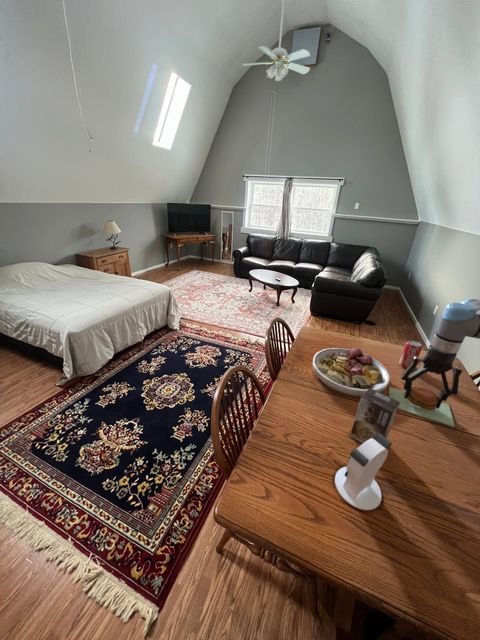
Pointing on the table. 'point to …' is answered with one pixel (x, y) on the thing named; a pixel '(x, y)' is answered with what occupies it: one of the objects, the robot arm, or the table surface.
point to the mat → (437, 415)
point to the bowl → (350, 371)
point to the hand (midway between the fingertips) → (420, 401)
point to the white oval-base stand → (363, 474)
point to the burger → (423, 397)
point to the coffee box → (374, 415)
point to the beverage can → (410, 353)
